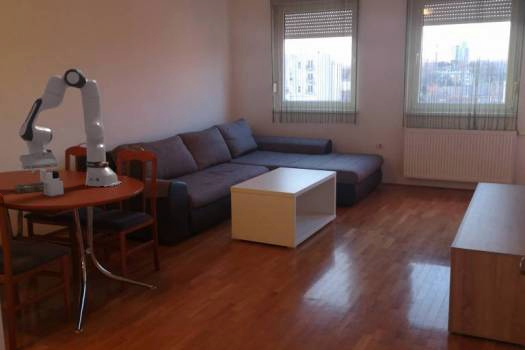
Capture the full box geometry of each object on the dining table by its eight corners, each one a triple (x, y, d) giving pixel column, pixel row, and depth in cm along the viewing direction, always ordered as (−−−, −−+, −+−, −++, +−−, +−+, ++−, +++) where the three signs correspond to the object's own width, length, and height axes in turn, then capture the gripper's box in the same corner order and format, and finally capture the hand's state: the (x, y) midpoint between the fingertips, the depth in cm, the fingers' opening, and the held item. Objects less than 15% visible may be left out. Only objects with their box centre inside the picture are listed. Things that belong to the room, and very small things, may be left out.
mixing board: (50, 186, 321) (50, 181, 321) (55, 189, 312) (55, 184, 312) (15, 190, 310) (14, 184, 309) (19, 193, 301) (18, 187, 300)
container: (56, 192, 305) (55, 170, 303) (63, 194, 300) (62, 171, 298) (43, 194, 299) (42, 171, 297) (51, 196, 294) (49, 173, 292)
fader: (46, 182, 316) (45, 169, 315) (48, 183, 312) (47, 170, 311) (39, 183, 314) (38, 169, 313) (41, 184, 310) (40, 170, 309)
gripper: (19, 152, 311) (24, 171, 305) (55, 150, 323) (61, 168, 317) (18, 158, 315) (23, 177, 309) (54, 156, 327) (59, 174, 321)
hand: (42, 172), depth 313 cm, fingers open, 8 cm apart
